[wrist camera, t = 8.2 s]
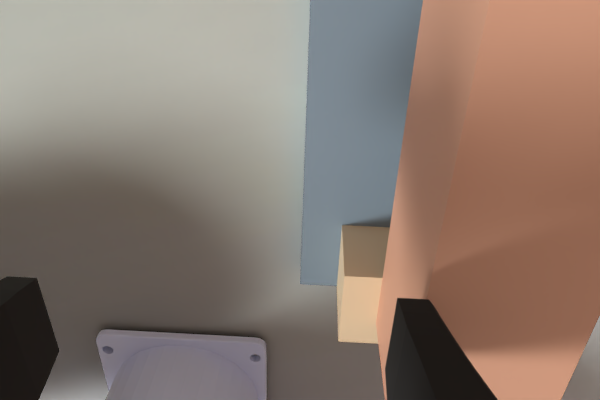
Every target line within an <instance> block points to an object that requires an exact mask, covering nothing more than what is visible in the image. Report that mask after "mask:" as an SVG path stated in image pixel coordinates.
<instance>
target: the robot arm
mask: <svg viewBox="0 0 600 400" xmlns="http://www.w3.org/2000/svg"><path fill="white" fill-rule="evenodd" d="M96 344H97V348H98V352H99V355H100V359H101V363H102V367H103V371H104V375H105V379H106V382H107V386H108V390H109V392H108V395H107V397H106V399H105V400H267V354H266V343H265V342H264V340H262V339H260V338H256V337H239V336H221V335H202V334H184V333H166V332H147V331H129V330H111V329H105V330H101V331H100V332H99V333H98V335H97V337H96ZM108 346H109V347H108ZM58 352H59V348H58V345H57V342H56V339H55V335H54V332H53V329H52V326H51V322H50V319H49V316H48V313H47V310H46V306H45V303H44V300H43V297H42V294H41V290H40V287H39V284H38V281H37V278H22V277H6V278H4V279H2V280H0V400H38V399H39V398H40V395H41V393H42V391H43V388H44V386H45V384H46V382H47V379H48V377H49V375H50V372H51V370H52V367H53V365H54V362H55V360H56V357H57V355H58ZM253 354H256V355H257V356H256V355H253ZM385 377H386V392H387V400H498V399H497V398H496V397H495V395H494V394H493V392H492V391H491V390H490V388H489V387H488V386H487V384H486V383H485V381H484V380H483V379H482V377H481V376H480V375H479V373H478V372H477V371H476V369H475V368H474V366H473V365H472V363H471V362H470V361H469V359H468V358H467V356H466V355H465V353H464V352H463V350H462V349H461V347H460V346H459V344H458V343H457V341H456V340H455V338H454V337H453V335H452V334H451V332H450V331H449V329H448V328H447V326H446V324H445V323H444V321H443V320H442V318H441V316H440V315H439V313H438V312H437V310H436V308H435V307H434V305H433V304H432V303H431V302H430V300H429V299H411V298H397V303H396V309H395V314H394V320H393V326H392V332H391V337H390V343H389V349H388V355H387V360H386V366H385Z"/></svg>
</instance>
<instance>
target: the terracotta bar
mask: <svg viewBox="0 0 600 400" xmlns="http://www.w3.org/2000/svg"><path fill="white" fill-rule="evenodd" d="M397 298H411V299H429V300H430V302H431V303H432V304H433V305H434V307H435V308H436V310H437V312H438V313H439V315H440V316H441V318H442V320H443V321H444V323H445V324H446V326H447V328H448V329H449V331H450V332H451V334H452V335H453V337H454V338H455V340H456V341H457V343H458V344H459V346H460V347H461V349H462V350H463V352H464V353H465V355H466V356H467V358H468V359H469V361H470V362H471V363H472V365H473V366H474V368H475V369H476V371H477V372H478V373H479V375H480V376H481V377H482V379H483V380H484V381H485V383H486V384H487V386H488V387H489V388H490V390H491V391H492V392H493V394H494V395H495V397H496V398H497V399H498V400H561V398H562V396H563V394H564V392H565V390H566V388H567V385H568V383H569V381H570V379H571V377H572V374H573V372H574V370H575V368H576V366H577V364H578V361H579V359H580V357H581V355H582V353H583V350H584V348H585V346H586V344H587V342H588V340H589V337H590V335H591V333H592V331H593V329H594V327H595V324H596V322H597V320H598V318H599V316H600V0H423V4H422V11H421V17H420V24H419V31H418V38H417V45H416V52H415V59H414V65H413V72H412V79H411V86H410V93H409V100H408V107H407V113H406V120H405V127H404V134H403V141H402V148H401V155H400V162H399V168H398V175H397V182H396V189H395V196H394V203H393V210H392V216H391V223H390V230H389V237H388V244H387V251H386V258H385V264H384V271H383V278H382V285H381V292H380V299H379V306H378V313H377V319H376V328H377V337H378V345H379V354H380V362H381V371H382V379H383V388H384V396H385V400H387V392H386V377H385V366H386V360H387V355H388V349H389V343H390V337H391V332H392V326H393V320H394V314H395V309H396V303H397Z"/></svg>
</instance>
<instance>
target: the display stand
mask: <svg viewBox="0 0 600 400" xmlns="http://www.w3.org/2000/svg"><path fill="white" fill-rule="evenodd" d="M422 4H423V0H310V26H309V53H308V81H307V109H306V136H305V164H304V192H303V220H302V247H301V275H300V284H308V285H327V286H337V313H338V342H356V343H375V344H378V337H377V328H376V319H377V313H378V306H379V299H380V292H381V285H382V278H383V271H384V264H385V258H386V251H387V244H388V237H389V230H390V223H391V216H392V210H393V203H394V196H395V189H396V182H397V175H398V168H399V162H400V155H401V148H402V141H403V134H404V127H405V120H406V113H407V107H408V100H409V93H410V86H411V79H412V72H413V65H414V59H415V52H416V45H417V38H418V31H419V24H420V17H421V11H422Z"/></svg>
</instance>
